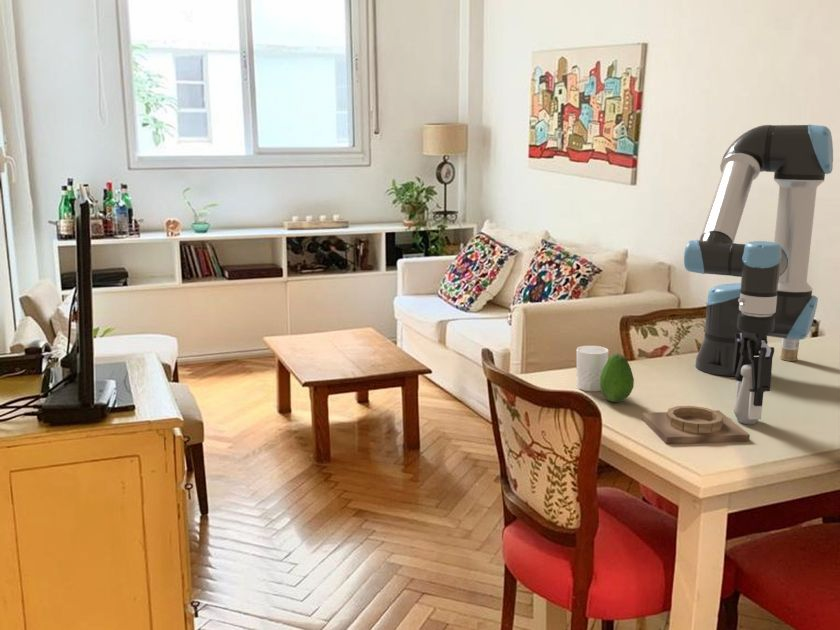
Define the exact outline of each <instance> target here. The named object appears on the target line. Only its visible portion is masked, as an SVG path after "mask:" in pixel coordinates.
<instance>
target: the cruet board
mask: <svg viewBox="0 0 840 630" xmlns="http://www.w3.org/2000/svg"><path fill="white" fill-rule="evenodd" d="M641 420H642V422H644V423H645V424H646V425H647V426H648V427H649V428H650V430H652V431H653V433H655V434H656V436H658V437H659V438H660V440H662V441H663V443H665V445H675V444H676V445H677V444H678V445H679V444H703V443H704V444H709V443H712V444H713V443H734V442H736V443H737V442H740V443H741V442H750V436H751V435H750V433H749V432H748V431H746V430H744V428H742V427H741V426H740V425H739V424H737V423H736V422H735V421H733V420H732V419H731V418H729V417H728V416H727V415H726V414H724V413H723V412H722V411H720V410H718V409H717V410H713V409H711V408H709V407H708V408H707V407H703V406H695V405H678V406H673V407H670V408H668V410H667V411H663V412H662V411H661V412H660V411H659V412H658V411H657V412H655V411H654V412H642V413H641Z"/></svg>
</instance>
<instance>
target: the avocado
mask: <svg viewBox="0 0 840 630" xmlns="http://www.w3.org/2000/svg"><path fill="white" fill-rule="evenodd" d="M630 365H631V364H630V363H629V361H628V360H627V358H626V357H625V356H624V355H622V354H620V353H614V354H611V355H610V356H609V357H608V361H607V363H606V365H605V366H604V368H603V371H602V373H601V376H600V387H601V391H600V392H601V394H602V395H603V397H604V398H605V399H606V400H607V401H610V402H613V403H620V402H623V401H624V400H626V399H627V398H628V397H630V395H631V393H632V391H633V389H634V384H635V378H634V374H633V371H632V368H631V366H630Z"/></svg>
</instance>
